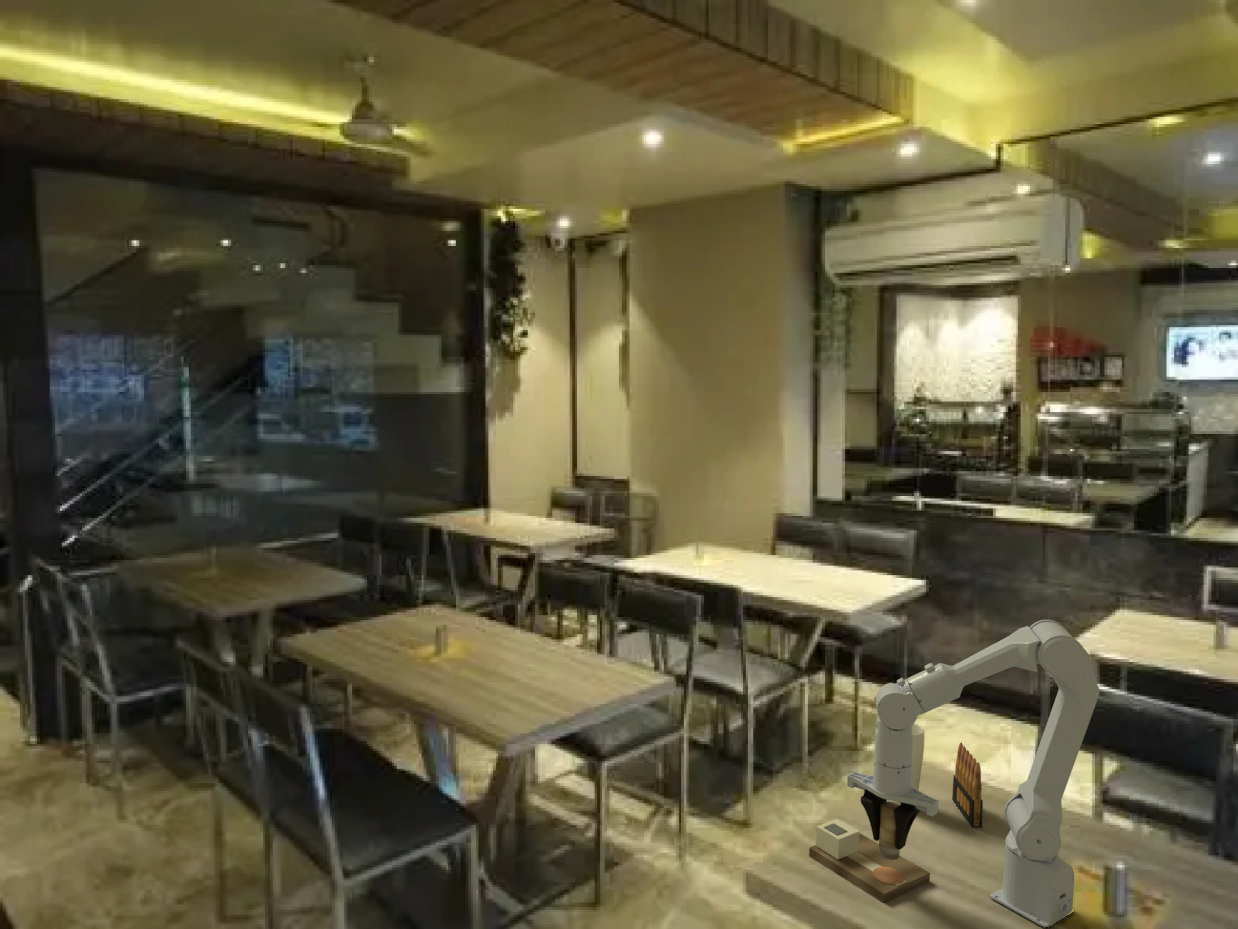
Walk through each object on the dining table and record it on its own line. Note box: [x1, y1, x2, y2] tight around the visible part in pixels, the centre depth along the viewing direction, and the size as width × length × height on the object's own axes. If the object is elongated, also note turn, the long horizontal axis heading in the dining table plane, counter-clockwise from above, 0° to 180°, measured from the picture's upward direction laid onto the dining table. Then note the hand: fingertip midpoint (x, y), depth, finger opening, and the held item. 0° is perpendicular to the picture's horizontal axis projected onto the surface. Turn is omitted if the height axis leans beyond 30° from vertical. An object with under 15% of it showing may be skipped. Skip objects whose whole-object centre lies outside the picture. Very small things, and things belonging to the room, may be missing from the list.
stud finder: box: [815, 818, 860, 859], centre depth 149 cm, size 5×5×4 cm
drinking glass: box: [888, 723, 925, 805], centre depth 169 cm, size 7×7×15 cm
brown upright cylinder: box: [878, 801, 901, 860], centre depth 141 cm, size 3×3×8 cm
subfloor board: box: [808, 832, 931, 904], centre depth 147 cm, size 16×11×2 cm
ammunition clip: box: [951, 741, 984, 829], centre depth 165 cm, size 11×2×12 cm, turn 178°
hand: (889, 842), depth 141 cm, fingers closed on brown upright cylinder, 3 cm apart
